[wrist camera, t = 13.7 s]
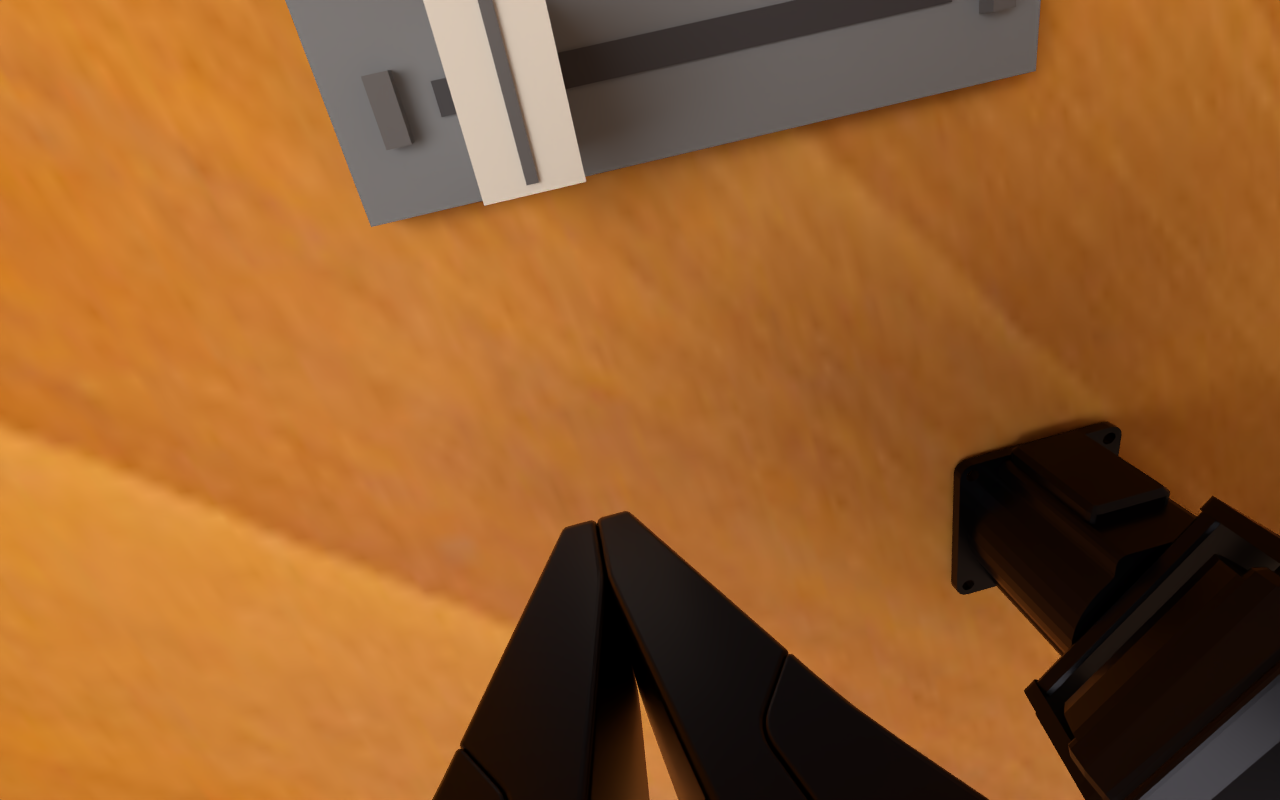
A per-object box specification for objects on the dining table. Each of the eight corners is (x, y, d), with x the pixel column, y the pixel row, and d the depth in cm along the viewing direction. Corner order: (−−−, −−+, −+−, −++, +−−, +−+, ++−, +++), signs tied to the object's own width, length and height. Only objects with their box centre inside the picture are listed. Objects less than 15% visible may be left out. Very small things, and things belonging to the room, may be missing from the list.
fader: (567, 152, 17) (586, 182, 13) (488, 170, 17) (484, 207, 13) (529, -13, 16) (538, -35, 12) (441, 6, 15) (419, -10, 11)
